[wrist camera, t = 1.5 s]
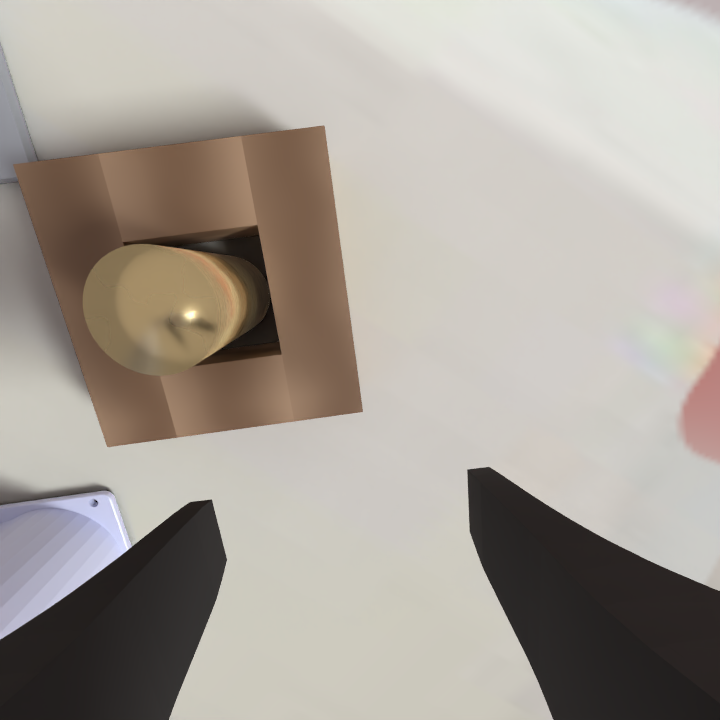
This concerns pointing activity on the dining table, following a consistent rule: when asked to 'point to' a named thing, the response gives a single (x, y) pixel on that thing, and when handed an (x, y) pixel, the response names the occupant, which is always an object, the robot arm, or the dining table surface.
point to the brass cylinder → (170, 305)
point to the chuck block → (198, 225)
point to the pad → (12, 128)
